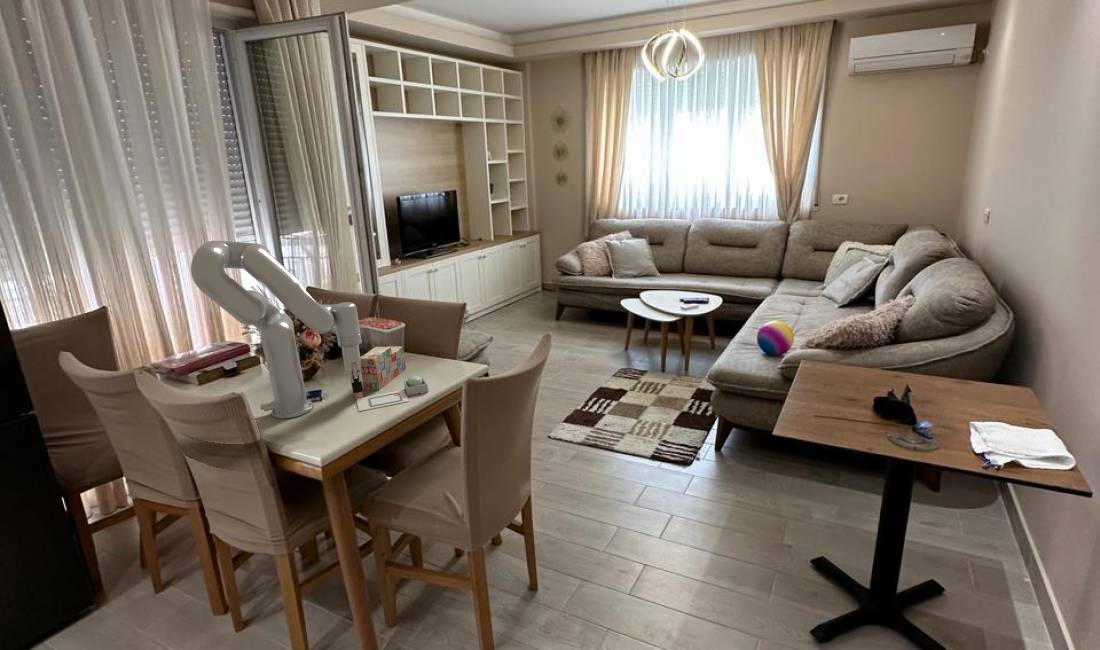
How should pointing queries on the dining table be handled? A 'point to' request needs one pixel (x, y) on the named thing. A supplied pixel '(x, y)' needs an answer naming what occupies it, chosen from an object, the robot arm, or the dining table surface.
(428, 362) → the dining table surface
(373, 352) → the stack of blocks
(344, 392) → the dining table surface
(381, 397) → the sheet
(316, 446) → the dining table surface
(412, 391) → the button housing
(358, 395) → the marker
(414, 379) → the button
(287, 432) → the dining table surface
